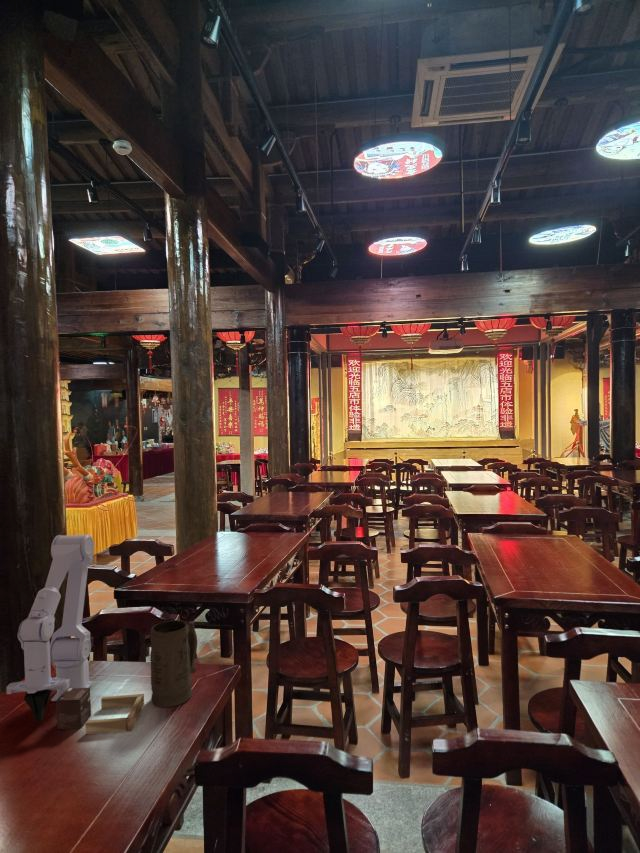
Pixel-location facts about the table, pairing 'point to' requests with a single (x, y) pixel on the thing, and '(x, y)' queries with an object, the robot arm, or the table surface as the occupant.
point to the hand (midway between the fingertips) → (39, 719)
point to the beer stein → (172, 662)
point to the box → (73, 708)
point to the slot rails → (117, 723)
